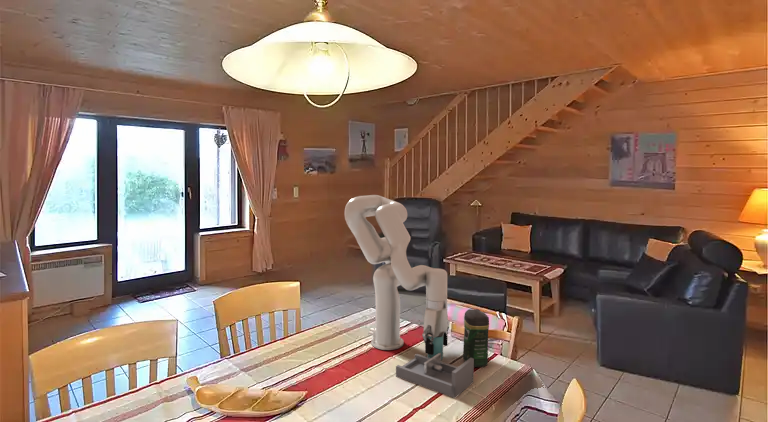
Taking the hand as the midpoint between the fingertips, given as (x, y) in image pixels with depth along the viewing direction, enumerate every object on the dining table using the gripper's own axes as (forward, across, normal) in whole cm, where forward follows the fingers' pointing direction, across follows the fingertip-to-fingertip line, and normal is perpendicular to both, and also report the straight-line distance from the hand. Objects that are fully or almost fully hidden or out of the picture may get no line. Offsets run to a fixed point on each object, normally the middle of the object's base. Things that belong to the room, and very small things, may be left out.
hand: (436, 349), depth 160 cm
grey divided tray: (+4, +14, +7) cm, 16 cm away
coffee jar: (+4, -6, +12) cm, 14 cm away
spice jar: (+3, 0, -1) cm, 3 cm away
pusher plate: (+2, +14, +8) cm, 16 cm away
